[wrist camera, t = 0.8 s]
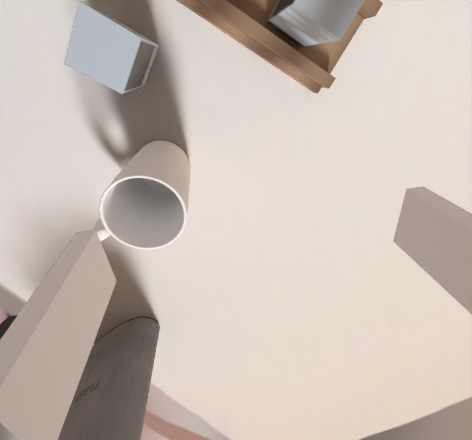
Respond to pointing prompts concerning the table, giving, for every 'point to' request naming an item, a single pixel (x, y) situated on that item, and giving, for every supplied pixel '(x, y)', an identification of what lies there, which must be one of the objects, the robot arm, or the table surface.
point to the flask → (114, 385)
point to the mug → (147, 198)
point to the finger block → (109, 50)
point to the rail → (259, 16)
